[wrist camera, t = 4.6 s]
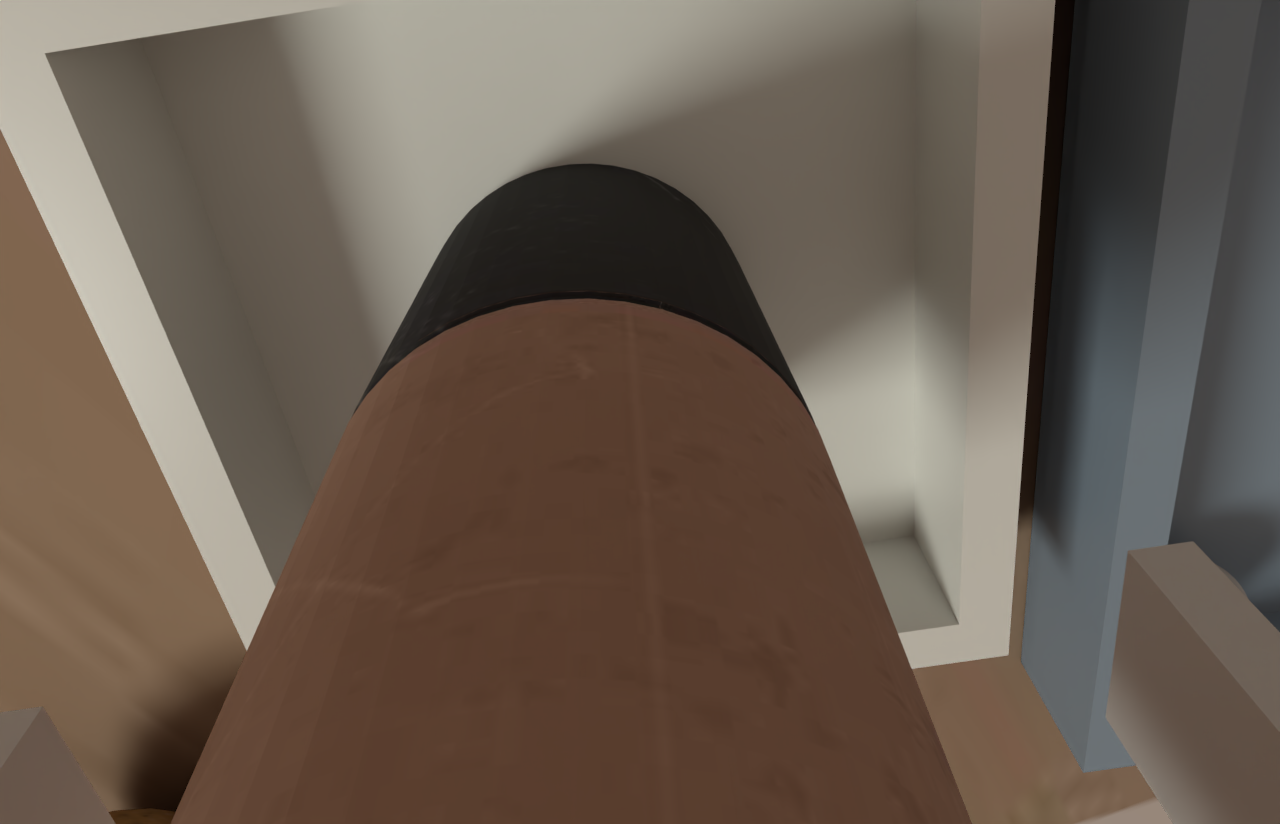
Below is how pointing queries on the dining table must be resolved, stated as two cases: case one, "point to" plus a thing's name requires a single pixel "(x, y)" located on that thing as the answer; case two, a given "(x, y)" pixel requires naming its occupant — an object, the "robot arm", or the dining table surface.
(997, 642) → the tray
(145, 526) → the dining table surface
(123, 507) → the dining table surface
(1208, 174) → the bin
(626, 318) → the travel mug
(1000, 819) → the dining table surface
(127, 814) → the potato
